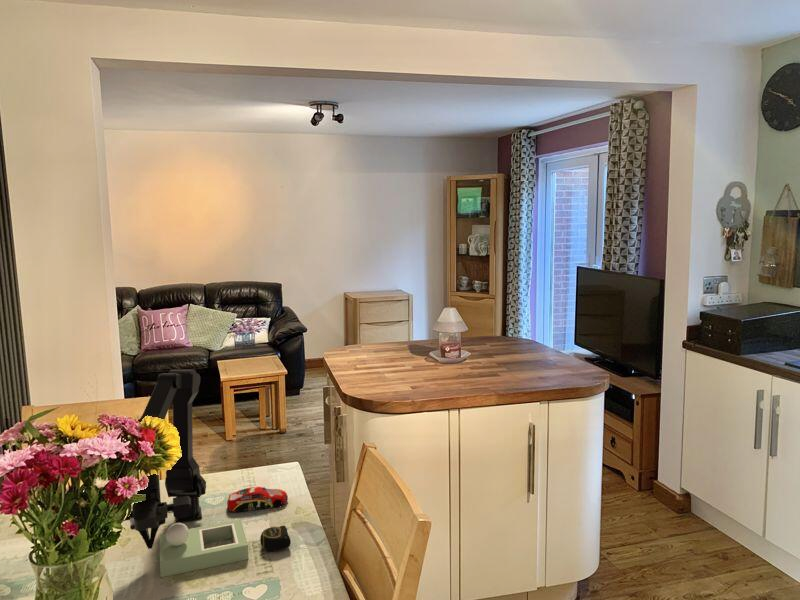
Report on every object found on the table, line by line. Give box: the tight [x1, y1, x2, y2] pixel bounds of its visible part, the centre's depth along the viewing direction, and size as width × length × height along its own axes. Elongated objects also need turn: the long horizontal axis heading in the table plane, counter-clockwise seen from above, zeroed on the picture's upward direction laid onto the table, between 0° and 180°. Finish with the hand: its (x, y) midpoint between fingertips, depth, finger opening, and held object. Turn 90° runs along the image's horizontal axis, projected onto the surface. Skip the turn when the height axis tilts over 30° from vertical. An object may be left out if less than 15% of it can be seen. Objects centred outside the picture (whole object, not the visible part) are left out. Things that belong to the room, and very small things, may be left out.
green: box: [159, 519, 249, 578], centre depth 142 cm, size 13×19×4 cm
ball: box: [165, 522, 189, 546], centre depth 140 cm, size 5×5×5 cm
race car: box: [226, 486, 288, 514], centre depth 166 cm, size 16×7×5 cm, turn 105°
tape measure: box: [259, 525, 292, 552], centre depth 145 cm, size 7×7×4 cm
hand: (150, 547), depth 138 cm, fingers closed
